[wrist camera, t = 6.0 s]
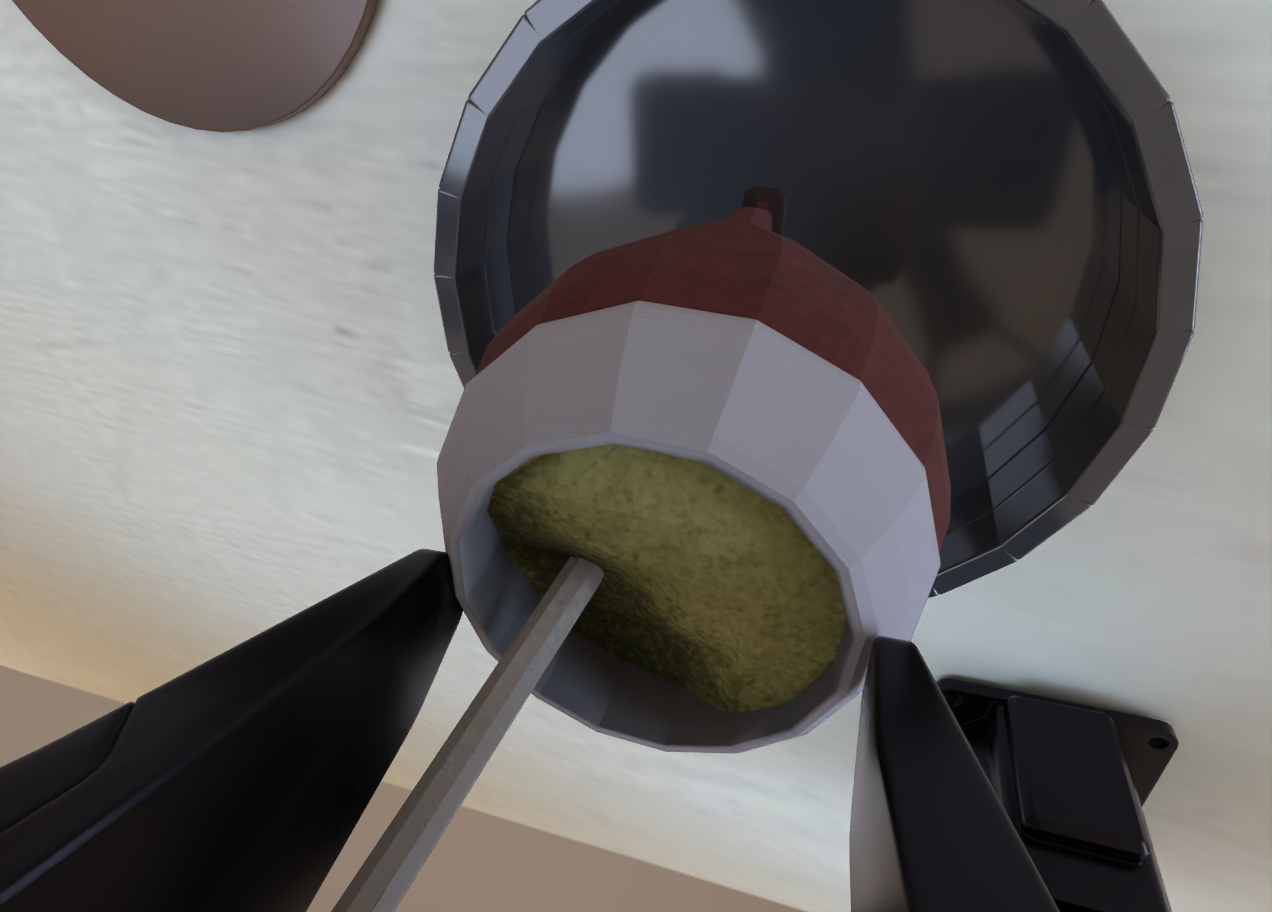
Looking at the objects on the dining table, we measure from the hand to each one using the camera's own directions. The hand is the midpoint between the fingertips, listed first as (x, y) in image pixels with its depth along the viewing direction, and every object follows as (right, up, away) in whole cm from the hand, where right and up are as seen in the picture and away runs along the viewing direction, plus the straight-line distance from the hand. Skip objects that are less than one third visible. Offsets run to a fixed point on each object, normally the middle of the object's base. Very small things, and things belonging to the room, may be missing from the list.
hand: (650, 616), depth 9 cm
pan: (+3, +6, +9) cm, 11 cm away
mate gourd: (+2, +4, +7) cm, 8 cm away
